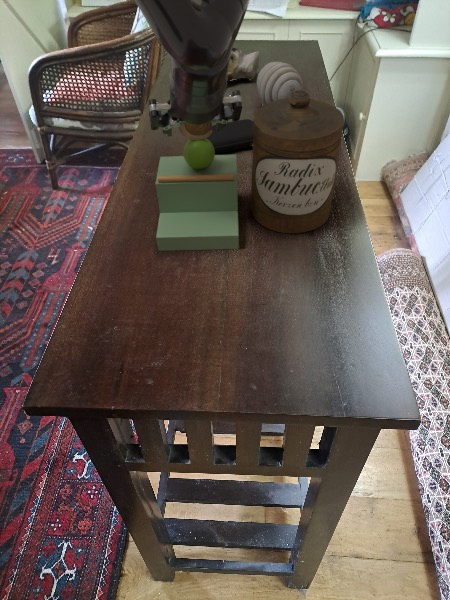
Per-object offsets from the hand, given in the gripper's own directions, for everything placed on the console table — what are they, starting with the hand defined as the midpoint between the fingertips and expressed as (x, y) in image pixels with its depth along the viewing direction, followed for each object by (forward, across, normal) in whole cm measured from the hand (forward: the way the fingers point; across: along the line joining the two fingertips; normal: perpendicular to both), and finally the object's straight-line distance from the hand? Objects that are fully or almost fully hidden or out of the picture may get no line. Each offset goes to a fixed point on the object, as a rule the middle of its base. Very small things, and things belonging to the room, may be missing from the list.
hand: (193, 127), depth 77 cm
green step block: (+7, +1, +16) cm, 17 cm away
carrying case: (+27, -10, -5) cm, 29 cm away
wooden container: (+7, -17, +15) cm, 24 cm away
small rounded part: (+4, 0, +6) cm, 7 cm away
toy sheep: (+37, -25, -14) cm, 46 cm away
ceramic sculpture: (+52, -18, -30) cm, 62 cm away
